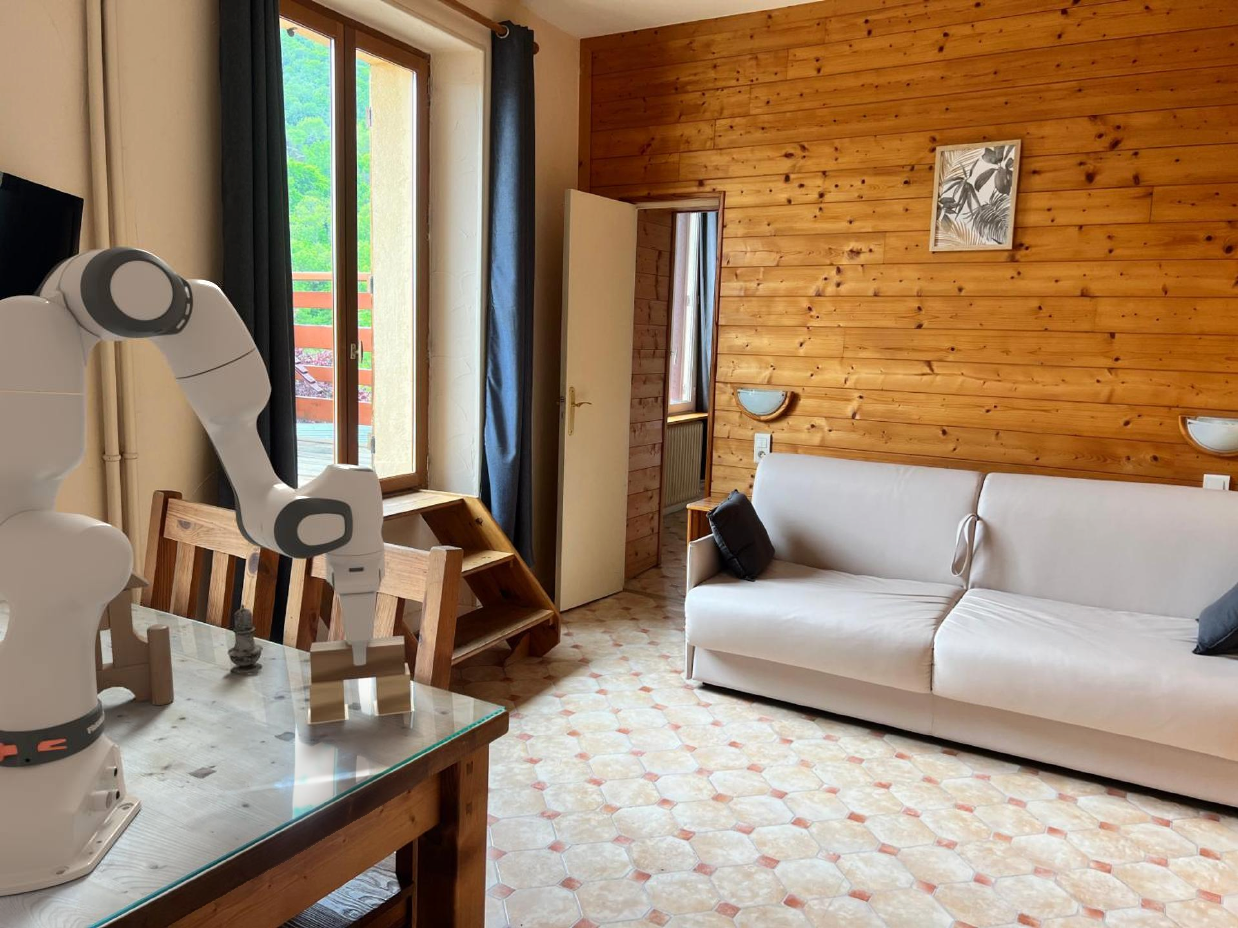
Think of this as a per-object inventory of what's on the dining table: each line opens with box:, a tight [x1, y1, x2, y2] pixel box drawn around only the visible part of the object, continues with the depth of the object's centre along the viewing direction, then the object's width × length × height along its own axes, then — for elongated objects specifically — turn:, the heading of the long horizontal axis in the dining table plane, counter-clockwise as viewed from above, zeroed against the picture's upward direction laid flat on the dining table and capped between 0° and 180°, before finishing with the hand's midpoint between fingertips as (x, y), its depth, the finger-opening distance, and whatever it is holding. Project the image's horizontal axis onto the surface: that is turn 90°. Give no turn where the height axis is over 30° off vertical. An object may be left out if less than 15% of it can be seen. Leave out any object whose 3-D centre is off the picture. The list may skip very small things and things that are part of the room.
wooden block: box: [309, 635, 406, 683], centre depth 139 cm, size 4×14×5 cm, turn 105°
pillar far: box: [375, 662, 412, 714], centre depth 141 cm, size 5×5×6 cm
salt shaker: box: [227, 603, 264, 676], centre depth 158 cm, size 6×6×12 cm
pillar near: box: [308, 672, 346, 723], centre depth 138 cm, size 5×5×6 cm
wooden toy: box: [95, 569, 175, 706], centre depth 141 cm, size 16×7×25 cm, turn 120°
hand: (358, 653), depth 139 cm, fingers open, 8 cm apart
